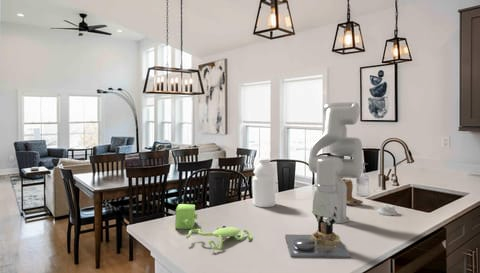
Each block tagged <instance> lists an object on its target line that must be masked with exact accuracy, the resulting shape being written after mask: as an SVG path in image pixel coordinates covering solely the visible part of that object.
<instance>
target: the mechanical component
mask: <svg viewBox="0 0 480 273" xmlns="http://www.w3.org/2000/svg"><path fill="white" fill-rule="evenodd" d="M376 212H377V213H378V214H379V213H380V214H379V215H382V214H383V215H382V216H389V215H393V216H397V215H398V211H396V207H395V206H394V204H393V205H392V204H388V203H387V204H385V203H384V204H380V205H379V208H378V209H377V210H376Z"/></svg>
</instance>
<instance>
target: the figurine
mask: <svg viewBox="0 0 480 273" xmlns="http://www.w3.org/2000/svg"><path fill="white" fill-rule="evenodd" d="M196 232H197V234H198V235H199V236H205V237H211V236H214V237H217V238H218V239H219V246H217V245H216V242H214V240H213V239H210V240H208V244H209V246H210V248H211V249H212V251H213V253H214V254H215V253H216V252H215V250H214V248H215V249H216V250H217V251H220V250H221V249H222V248H223V241H225V240H226V239H227V238H229V239H231V237H233V238H234V239H236V240H238V241H241V240H242V239H243V238H244V233H245V234H247V236H246V239H247V240H249V241H252V239H253V236H252V234H251V233H250V231H248V230H247V229H242V231H241V229H240V228H238V227H231V226H229V227H228V226H227V227H226V225H223V226H222V227H217V228H216V230H214V231H213V232H202V229H200V228H193V229H190V230H189V231H188V234H187V235H186V236H185V239H187V240H188V239H189V238H190V237H191V235H192V233H196ZM239 233H241V234H240V237H239V236H238V235H239ZM212 244H213V245H214V248H213V245H212Z"/></svg>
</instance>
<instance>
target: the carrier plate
mask: <svg viewBox="0 0 480 273" xmlns="http://www.w3.org/2000/svg"><path fill="white" fill-rule="evenodd" d="M316 232H317V231H315V232H313V233H311V234H286V233H285V235H284V239H285V242H286V246H287V248H288V249H287V250H288V253H289V256H290V258H291V257H293V258H351V253H350V252H349V249H347V248H346V246H345V244H344V243H343V242H342V241H341V238H340V236H339V234H336V233H335V237H334V238H333V239H323V238H322V239H321V238H319V237H316Z"/></svg>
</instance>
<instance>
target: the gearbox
mask: <svg viewBox="0 0 480 273" xmlns="http://www.w3.org/2000/svg"><path fill="white" fill-rule="evenodd" d="M196 220H198V213H196V204H191V203H190V204H189V203H187V204H186V203H180V204H178V205H177V206H176V209H175V226H174V227H175V228H174V229H178V230H187V229H188V230H189V229H190V230H192V229H194V225H195V221H196Z"/></svg>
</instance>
